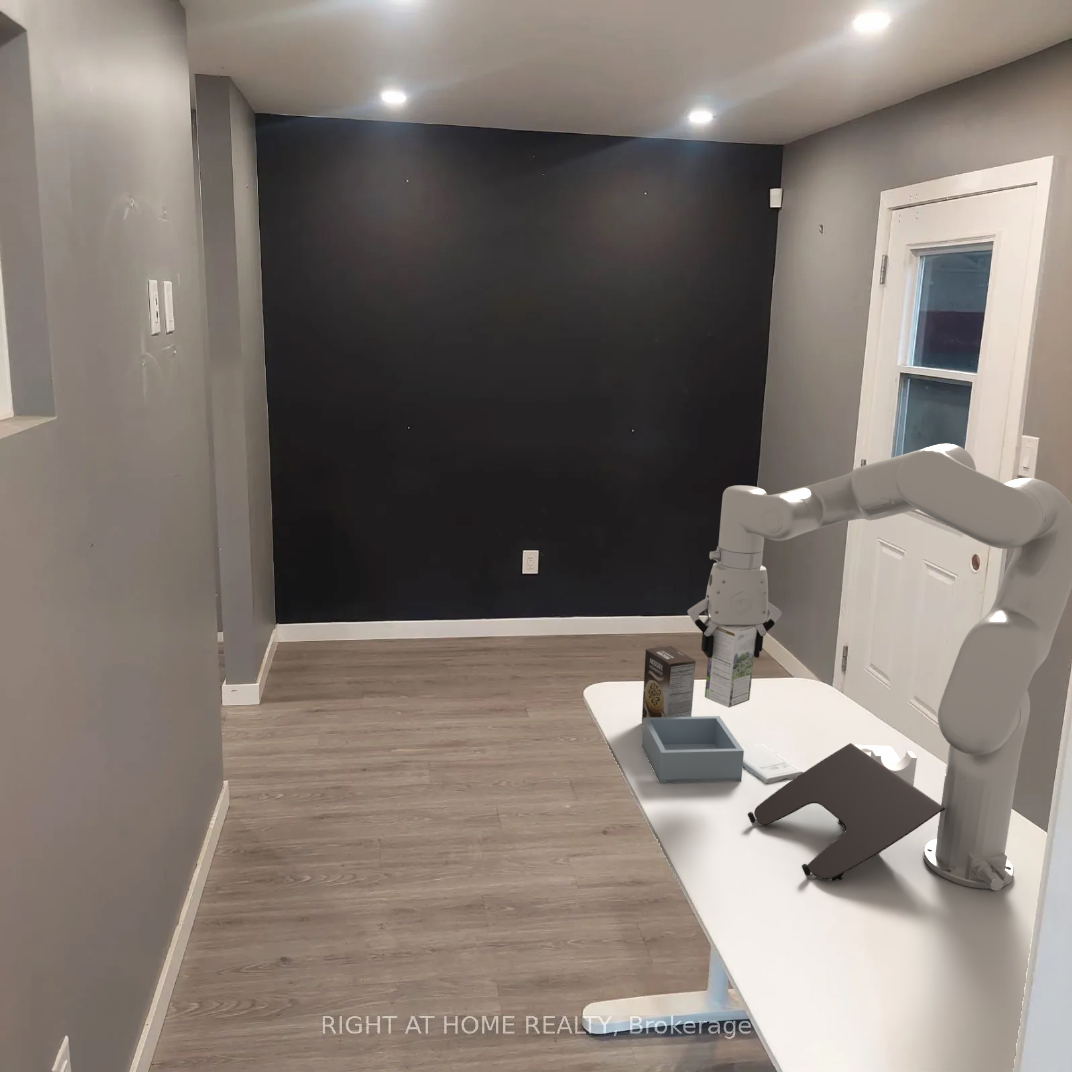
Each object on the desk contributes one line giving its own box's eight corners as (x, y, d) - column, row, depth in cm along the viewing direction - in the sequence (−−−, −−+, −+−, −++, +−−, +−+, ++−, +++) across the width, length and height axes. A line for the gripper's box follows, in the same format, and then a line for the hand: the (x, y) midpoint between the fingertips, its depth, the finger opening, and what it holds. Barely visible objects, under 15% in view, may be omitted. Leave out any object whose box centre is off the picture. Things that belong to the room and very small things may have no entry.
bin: (741, 781, 170) (743, 750, 168) (659, 783, 168) (661, 752, 167) (717, 744, 184) (719, 716, 183) (641, 746, 183) (643, 717, 181)
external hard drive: (761, 750, 184) (802, 778, 173) (726, 756, 181) (766, 786, 170) (762, 742, 184) (803, 770, 172) (726, 748, 180) (766, 777, 169)
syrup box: (724, 690, 172) (731, 614, 168) (750, 701, 167) (757, 623, 164) (703, 697, 168) (709, 620, 165) (729, 709, 164) (736, 629, 160)
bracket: (911, 797, 166) (917, 757, 165) (870, 795, 167) (875, 755, 165) (888, 763, 179) (893, 726, 177) (851, 761, 179) (855, 724, 178)
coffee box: (640, 723, 193) (644, 648, 190) (666, 718, 196) (671, 644, 192) (664, 741, 185) (668, 663, 182) (691, 735, 188) (696, 659, 184)
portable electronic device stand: (754, 844, 161) (736, 803, 158) (862, 773, 165) (847, 732, 162) (835, 926, 140) (816, 880, 137) (957, 842, 144) (942, 797, 140)
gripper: (696, 563, 157) (688, 663, 161) (796, 564, 159) (786, 662, 163) (684, 552, 164) (677, 647, 168) (780, 553, 166) (771, 647, 170)
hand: (731, 654), depth 166 cm, fingers closed on syrup box, 7 cm apart
